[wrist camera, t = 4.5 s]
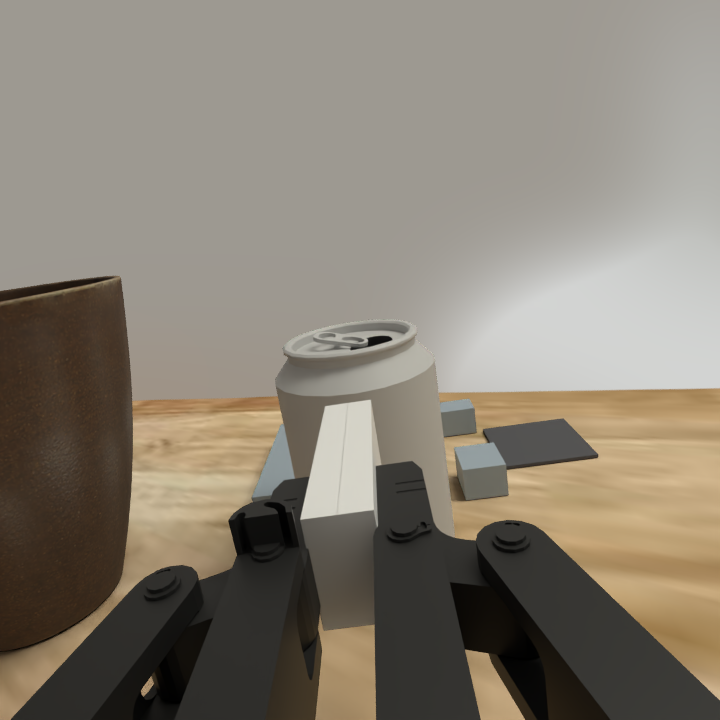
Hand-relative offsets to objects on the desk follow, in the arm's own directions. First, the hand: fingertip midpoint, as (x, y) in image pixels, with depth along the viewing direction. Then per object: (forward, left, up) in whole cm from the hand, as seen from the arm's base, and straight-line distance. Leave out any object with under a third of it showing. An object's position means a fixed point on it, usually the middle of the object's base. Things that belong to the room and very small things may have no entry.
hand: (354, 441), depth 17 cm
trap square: (+11, +18, -10) cm, 23 cm away
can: (0, +8, -10) cm, 13 cm away
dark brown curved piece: (-18, +8, -10) cm, 22 cm away
